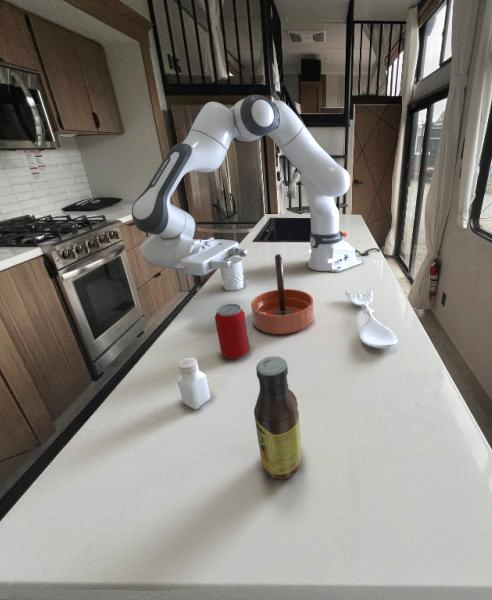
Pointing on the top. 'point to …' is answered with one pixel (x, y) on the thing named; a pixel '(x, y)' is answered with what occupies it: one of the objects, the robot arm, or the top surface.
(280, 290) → the brown rod on stand
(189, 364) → the pepper shaker
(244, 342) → the beverage can
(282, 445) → the sauce bottle
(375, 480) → the top surface
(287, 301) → the bowl
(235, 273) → the white cup
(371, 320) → the spoon
